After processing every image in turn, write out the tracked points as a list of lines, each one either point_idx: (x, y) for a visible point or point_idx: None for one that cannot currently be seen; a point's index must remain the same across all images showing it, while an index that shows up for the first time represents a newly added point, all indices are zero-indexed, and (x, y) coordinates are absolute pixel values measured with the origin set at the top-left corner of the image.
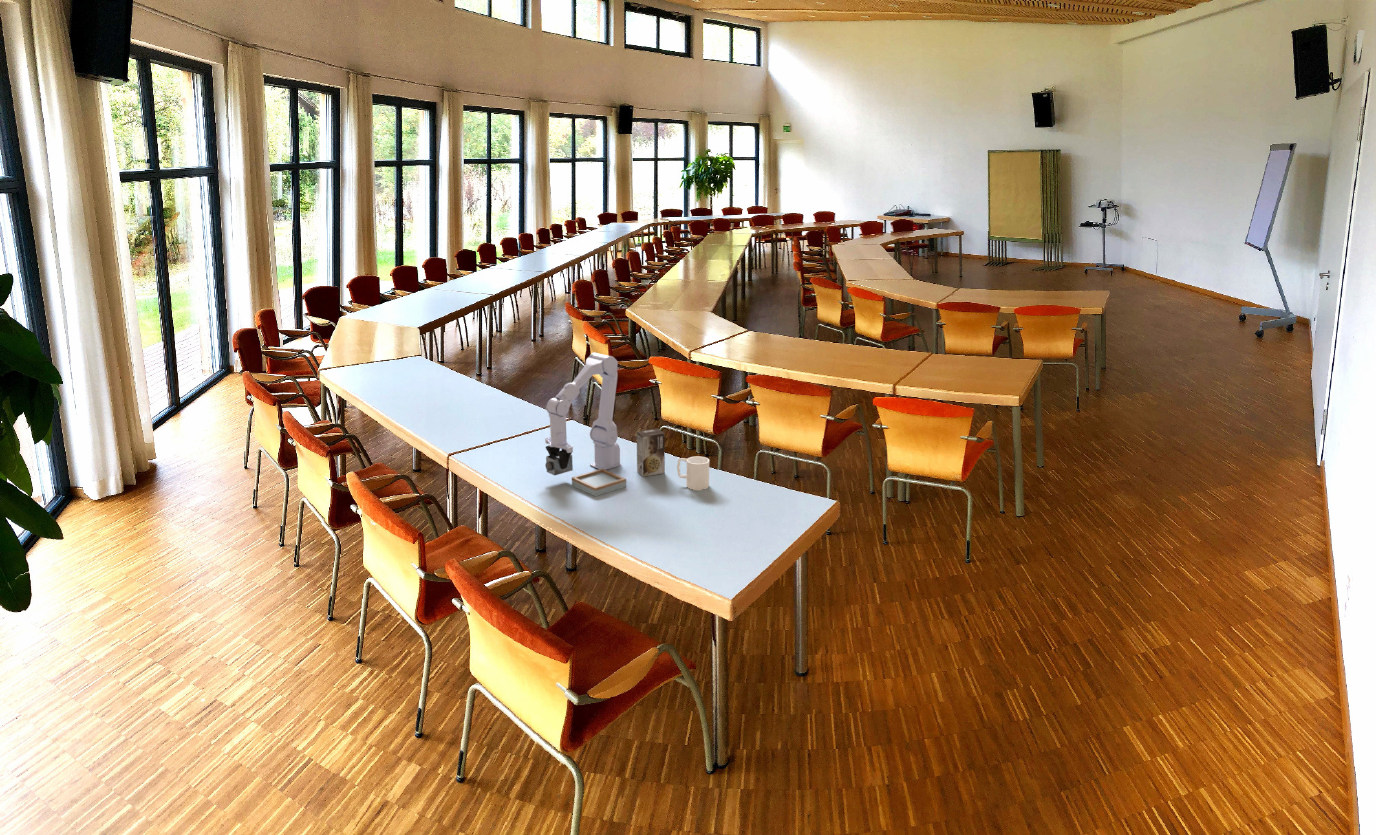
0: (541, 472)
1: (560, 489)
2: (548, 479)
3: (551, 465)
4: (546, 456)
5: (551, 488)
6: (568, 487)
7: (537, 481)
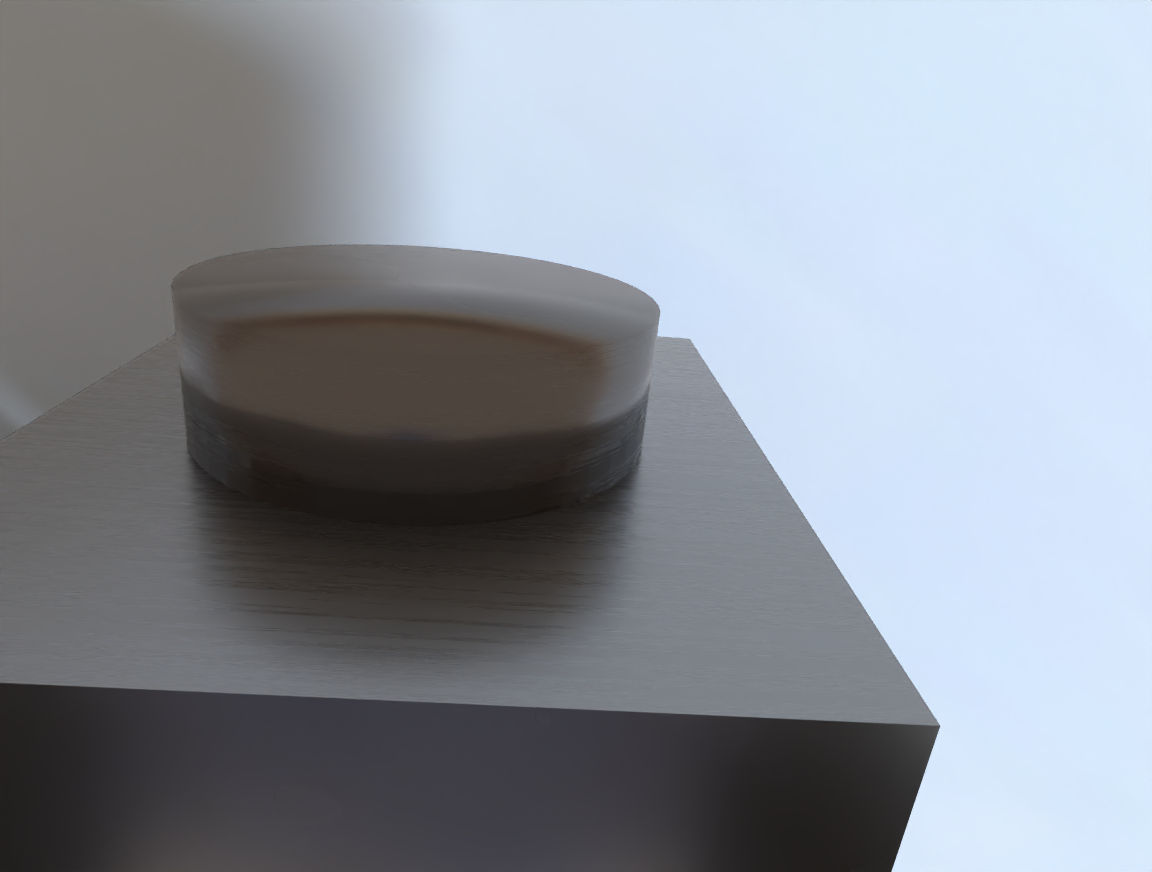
0: (1130, 529)
1: (36, 184)
2: (741, 390)
3: (189, 384)
4: (904, 748)
5: (230, 64)
6: (50, 391)
7: (853, 132)
